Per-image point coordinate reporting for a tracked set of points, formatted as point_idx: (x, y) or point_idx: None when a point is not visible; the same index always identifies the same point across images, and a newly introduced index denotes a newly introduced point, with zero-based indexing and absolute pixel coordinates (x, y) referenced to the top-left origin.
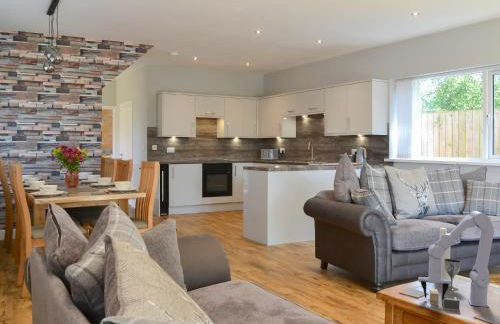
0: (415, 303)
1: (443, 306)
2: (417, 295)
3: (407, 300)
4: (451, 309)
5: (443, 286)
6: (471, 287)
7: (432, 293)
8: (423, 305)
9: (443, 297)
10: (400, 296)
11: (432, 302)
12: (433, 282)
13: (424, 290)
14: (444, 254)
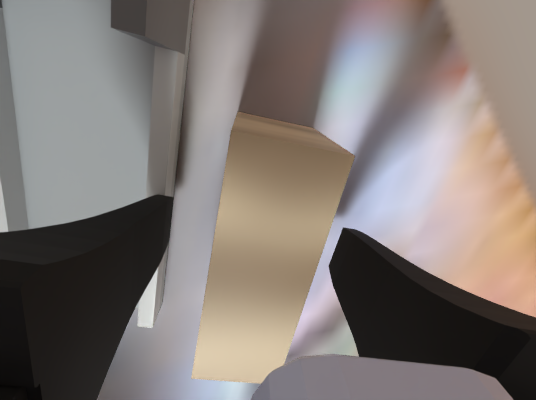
0: (476, 122)
1: (188, 49)
2: (348, 338)
3: (505, 203)
4: None
5: (25, 272)
6: None
7: (323, 186)
8: (421, 60)
9: (147, 199)
10: (503, 292)
11: (303, 128)
12: (482, 377)
13: (422, 271)
14: None
